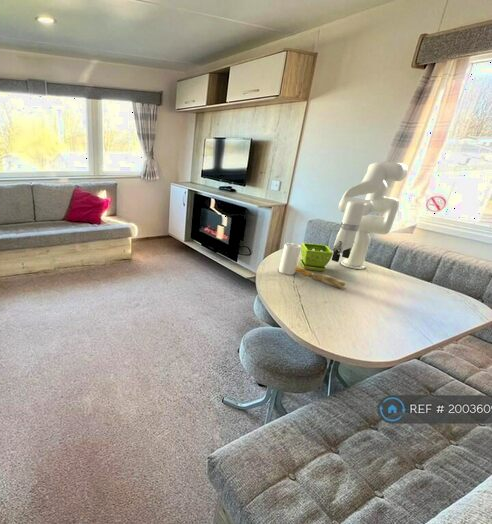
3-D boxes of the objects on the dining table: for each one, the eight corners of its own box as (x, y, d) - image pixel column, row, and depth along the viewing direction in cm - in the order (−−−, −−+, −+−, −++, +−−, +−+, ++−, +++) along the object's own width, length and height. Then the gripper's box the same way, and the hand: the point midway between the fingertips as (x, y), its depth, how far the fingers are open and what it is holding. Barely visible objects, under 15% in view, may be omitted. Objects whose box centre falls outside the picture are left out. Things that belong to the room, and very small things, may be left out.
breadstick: (292, 269, 179) (293, 266, 179) (295, 269, 180) (295, 266, 180) (309, 276, 171) (310, 273, 171) (311, 275, 172) (312, 272, 172)
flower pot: (296, 261, 192) (301, 242, 187) (321, 264, 189) (327, 245, 184) (301, 270, 179) (306, 249, 175) (327, 273, 176) (333, 252, 171)
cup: (296, 275, 172) (302, 248, 166) (280, 273, 173) (286, 246, 167) (292, 269, 179) (298, 243, 173) (277, 268, 181) (283, 242, 175)
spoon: (345, 287, 160) (347, 281, 158) (340, 289, 157) (342, 283, 156) (316, 276, 172) (318, 270, 170) (311, 278, 169) (312, 272, 168)
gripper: (350, 222, 158) (341, 253, 165) (332, 227, 150) (323, 259, 156) (366, 226, 152) (356, 258, 159) (348, 231, 144) (338, 265, 151)
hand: (340, 259), depth 158 cm, fingers open, 9 cm apart
